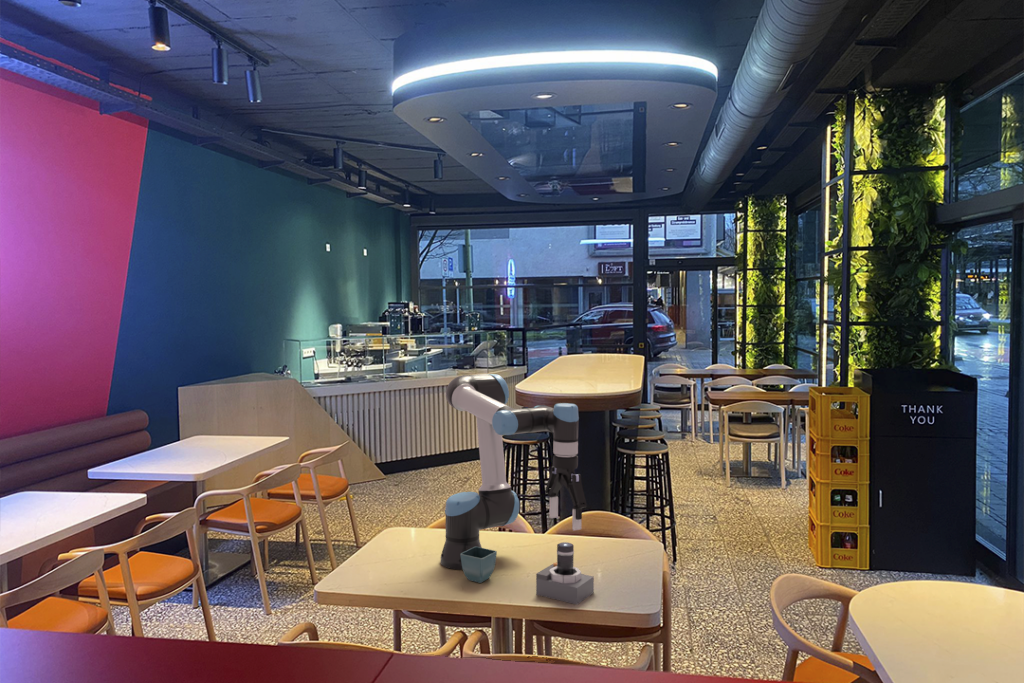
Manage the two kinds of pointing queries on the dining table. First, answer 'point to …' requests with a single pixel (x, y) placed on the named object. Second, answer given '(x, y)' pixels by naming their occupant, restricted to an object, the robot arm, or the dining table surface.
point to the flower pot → (478, 563)
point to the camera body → (564, 585)
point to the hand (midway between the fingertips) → (564, 523)
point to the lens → (565, 558)
